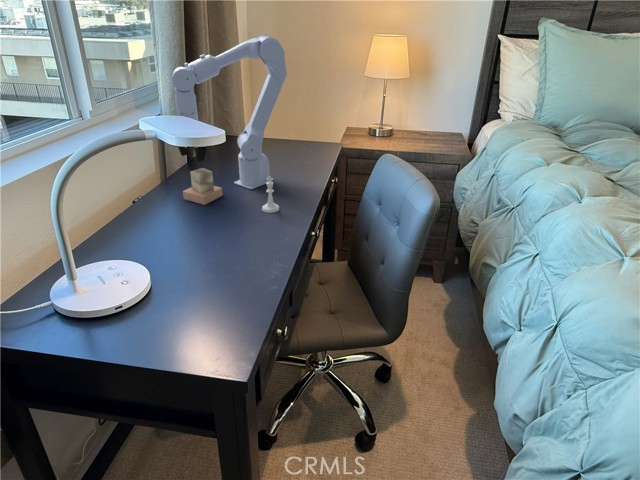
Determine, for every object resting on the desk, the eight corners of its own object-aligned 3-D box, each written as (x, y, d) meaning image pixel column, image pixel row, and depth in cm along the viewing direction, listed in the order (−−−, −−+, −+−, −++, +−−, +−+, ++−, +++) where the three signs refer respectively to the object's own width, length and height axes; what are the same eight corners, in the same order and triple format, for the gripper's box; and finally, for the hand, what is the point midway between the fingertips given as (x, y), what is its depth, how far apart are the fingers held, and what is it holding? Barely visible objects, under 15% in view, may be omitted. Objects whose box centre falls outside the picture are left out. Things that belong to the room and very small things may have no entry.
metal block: (204, 184, 135) (203, 167, 133) (213, 189, 133) (212, 171, 130) (192, 189, 132) (190, 171, 130) (201, 193, 130) (199, 175, 127)
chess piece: (276, 213, 125) (275, 180, 120) (259, 211, 126) (258, 178, 121) (281, 206, 129) (280, 173, 124) (265, 204, 130) (263, 172, 125)
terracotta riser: (202, 191, 139) (201, 182, 137) (222, 196, 135) (221, 187, 134) (184, 200, 132) (182, 191, 131) (204, 206, 129) (203, 196, 128)
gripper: (160, 110, 129) (166, 155, 136) (191, 119, 121) (197, 166, 128) (180, 106, 134) (186, 150, 140) (212, 114, 126) (216, 160, 133)
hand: (192, 157), depth 134 cm, fingers open, 7 cm apart
